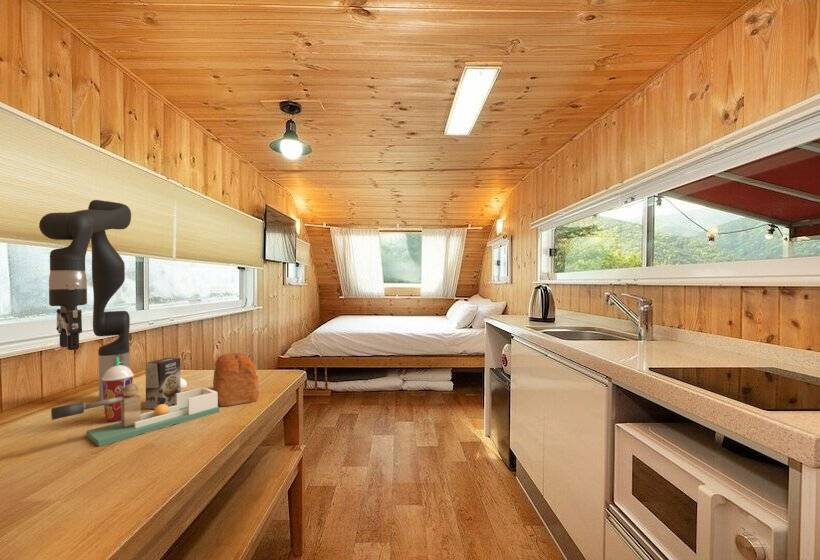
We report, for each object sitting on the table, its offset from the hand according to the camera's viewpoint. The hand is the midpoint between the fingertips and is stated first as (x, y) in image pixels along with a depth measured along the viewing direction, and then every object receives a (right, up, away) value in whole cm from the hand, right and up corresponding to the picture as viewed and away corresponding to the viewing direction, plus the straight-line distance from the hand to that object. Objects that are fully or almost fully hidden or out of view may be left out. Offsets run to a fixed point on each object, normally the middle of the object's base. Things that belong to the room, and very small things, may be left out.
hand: (69, 348), depth 99 cm
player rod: (+4, -25, +5) cm, 25 cm away
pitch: (+13, -26, +16) cm, 34 cm away
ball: (+13, -23, +17) cm, 32 cm away
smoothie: (-3, -27, +21) cm, 34 cm away
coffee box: (+3, -27, +34) cm, 43 cm away
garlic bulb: (-5, -27, +55) cm, 61 cm away
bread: (+24, -27, +44) cm, 57 cm away
